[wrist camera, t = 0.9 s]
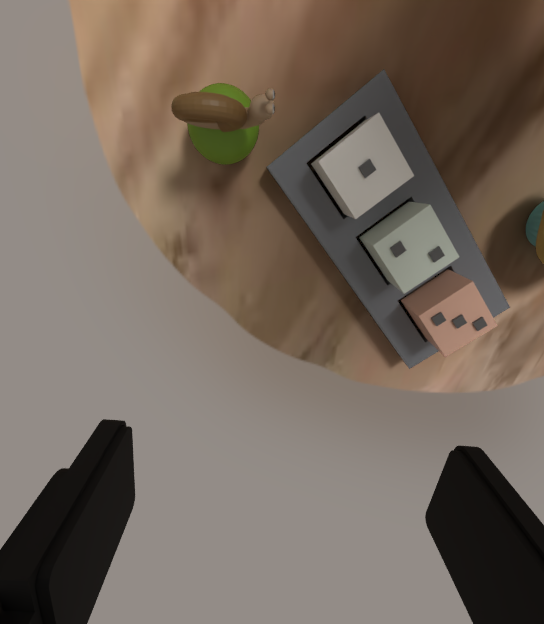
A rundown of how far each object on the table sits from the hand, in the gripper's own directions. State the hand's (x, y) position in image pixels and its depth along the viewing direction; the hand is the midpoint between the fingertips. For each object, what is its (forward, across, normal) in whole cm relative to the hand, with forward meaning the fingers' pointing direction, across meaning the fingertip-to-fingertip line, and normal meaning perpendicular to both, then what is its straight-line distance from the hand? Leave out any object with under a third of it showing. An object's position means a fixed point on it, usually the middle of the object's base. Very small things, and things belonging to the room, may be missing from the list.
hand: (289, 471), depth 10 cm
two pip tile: (+22, -11, -4) cm, 25 cm away
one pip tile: (+22, -6, -9) cm, 25 cm away
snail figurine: (+25, +4, -11) cm, 28 cm away
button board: (+25, -11, -4) cm, 27 cm away
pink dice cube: (+22, -16, +1) cm, 28 cm away
